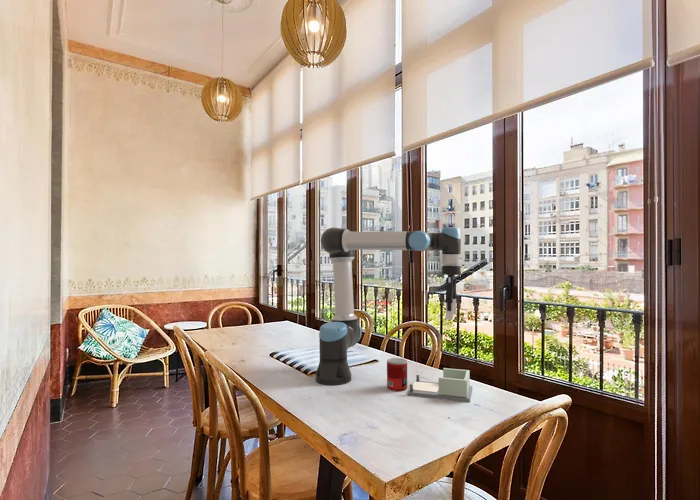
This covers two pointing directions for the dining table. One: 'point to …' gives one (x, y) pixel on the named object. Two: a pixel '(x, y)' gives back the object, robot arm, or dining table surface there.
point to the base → (434, 391)
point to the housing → (454, 382)
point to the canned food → (397, 374)
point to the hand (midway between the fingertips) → (451, 316)
